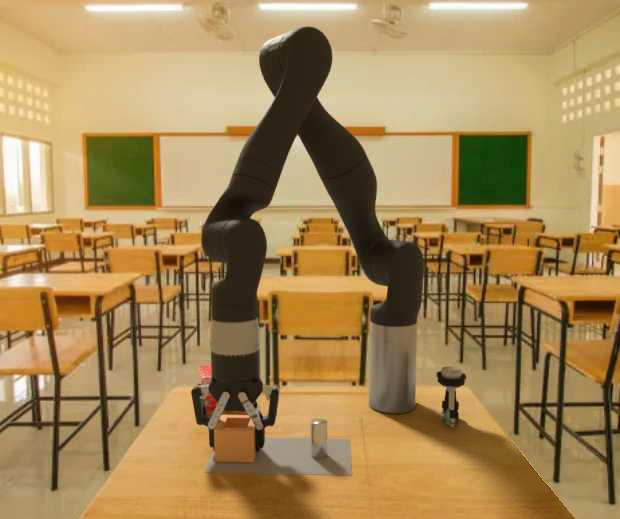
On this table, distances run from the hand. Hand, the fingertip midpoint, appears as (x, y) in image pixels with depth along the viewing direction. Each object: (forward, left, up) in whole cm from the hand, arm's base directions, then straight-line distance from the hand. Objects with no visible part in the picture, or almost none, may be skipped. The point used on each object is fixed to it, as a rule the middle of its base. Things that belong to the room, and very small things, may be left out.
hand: (237, 449), depth 89 cm
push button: (-17, +37, -2) cm, 41 cm away
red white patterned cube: (-22, -7, -3) cm, 23 cm away
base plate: (0, +7, -2) cm, 7 cm away
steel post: (0, +13, -2) cm, 13 cm away
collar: (0, 0, -1) cm, 1 cm away
